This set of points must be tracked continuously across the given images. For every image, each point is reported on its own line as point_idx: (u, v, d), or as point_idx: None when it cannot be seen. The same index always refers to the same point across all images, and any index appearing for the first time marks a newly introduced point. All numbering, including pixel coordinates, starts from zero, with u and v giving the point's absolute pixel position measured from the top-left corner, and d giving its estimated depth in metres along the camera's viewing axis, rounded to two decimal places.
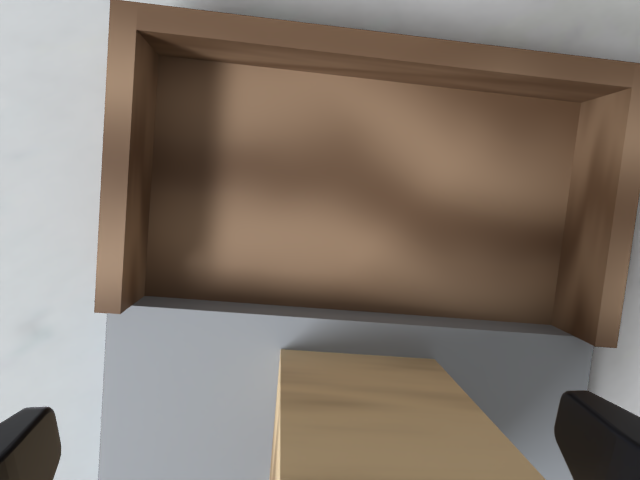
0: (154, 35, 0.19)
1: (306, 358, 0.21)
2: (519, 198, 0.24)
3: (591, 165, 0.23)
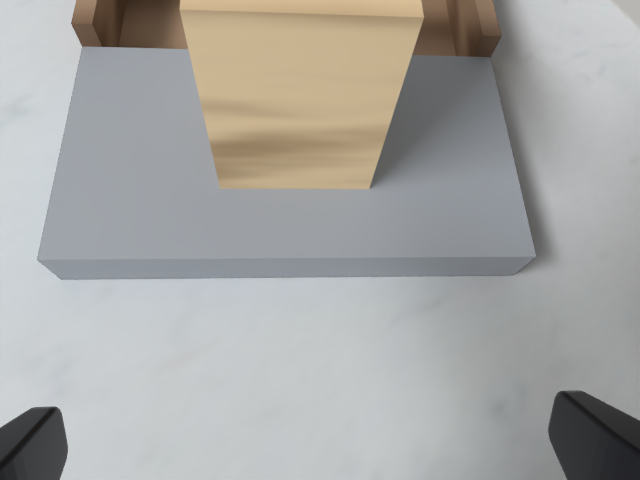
0: None
1: None
2: None
3: None
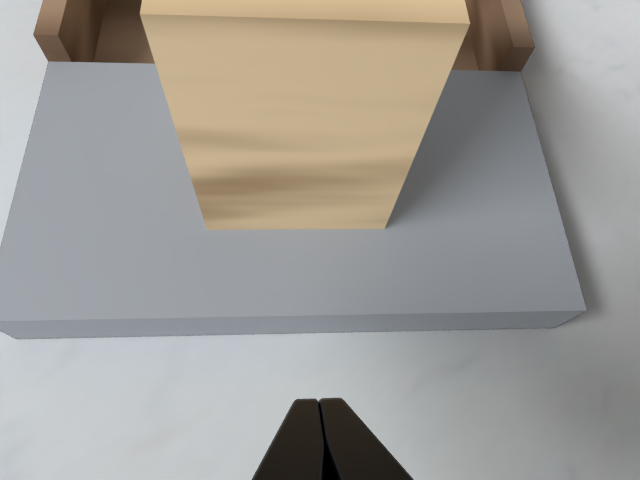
0: None
1: None
2: None
3: None
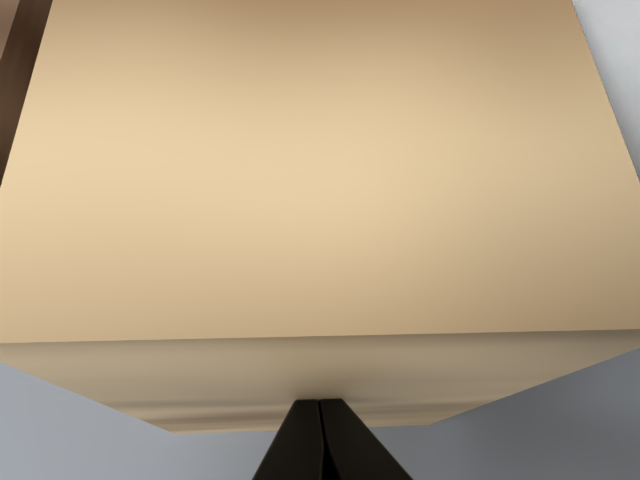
0: None
1: None
2: None
3: None
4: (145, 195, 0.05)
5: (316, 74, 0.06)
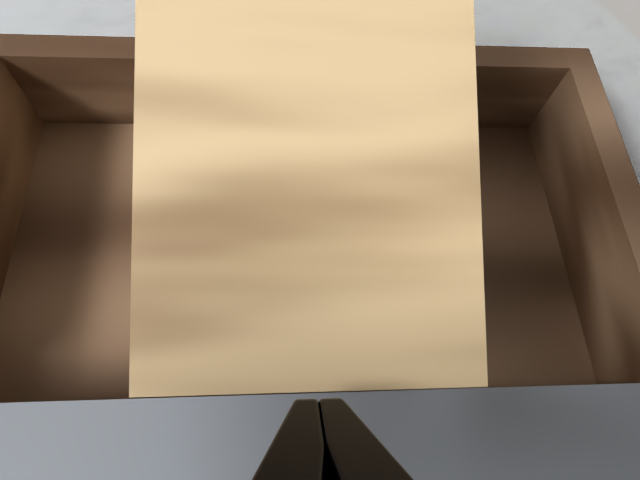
0: (22, 67, 0.17)
1: None
2: (493, 229, 0.19)
3: (563, 169, 0.19)
4: None
5: None
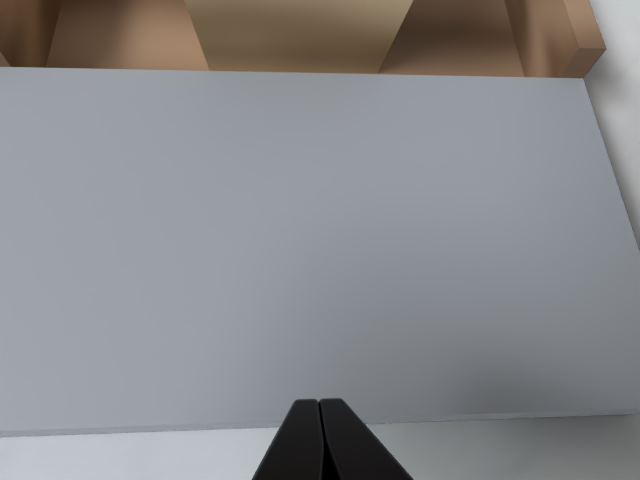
0: None
1: None
2: (454, 4, 0.23)
3: None
4: None
5: None
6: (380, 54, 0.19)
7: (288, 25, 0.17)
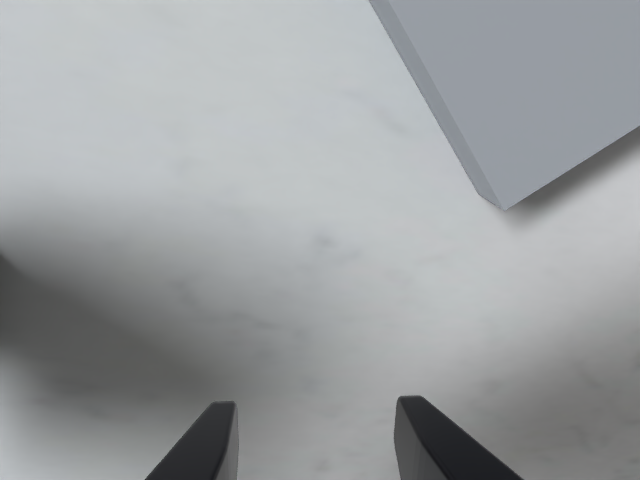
0: None
1: None
2: None
3: None
4: None
5: None
6: None
7: None
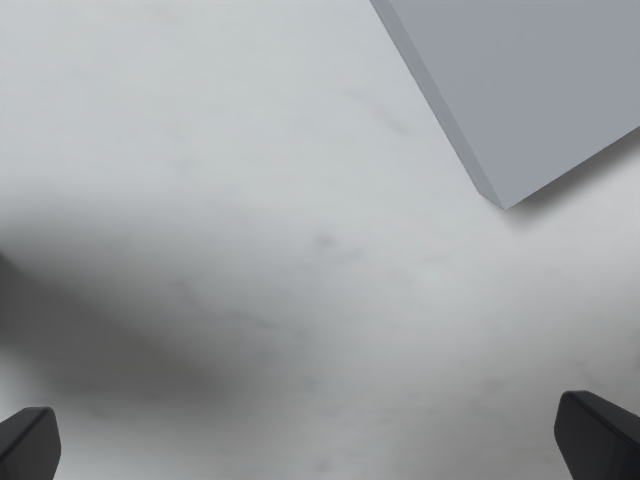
0: None
1: None
2: None
3: None
4: None
5: None
6: None
7: None
